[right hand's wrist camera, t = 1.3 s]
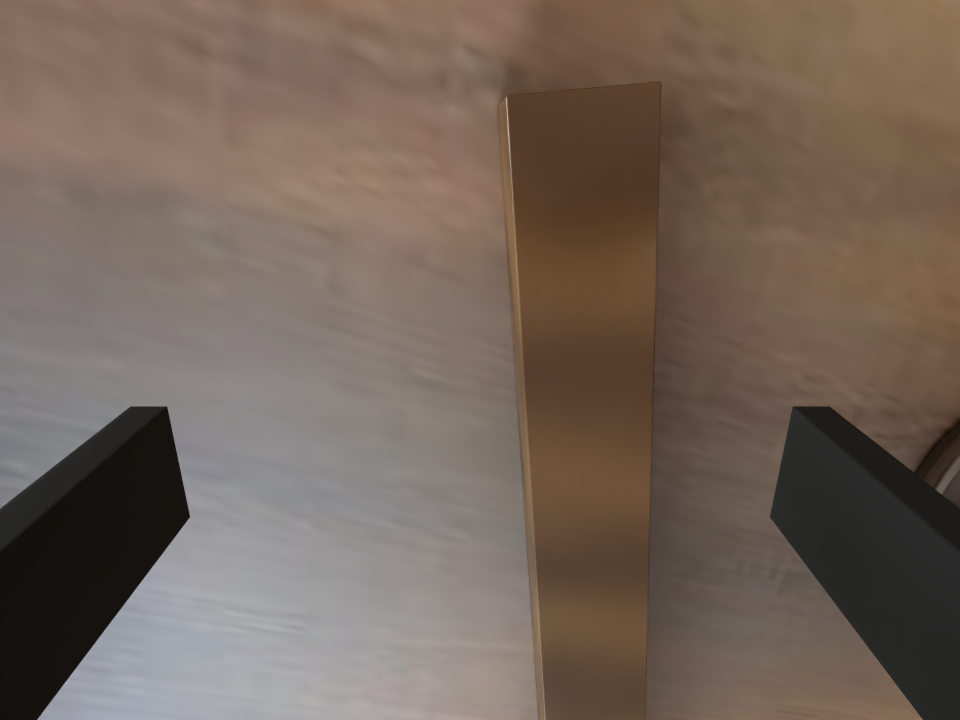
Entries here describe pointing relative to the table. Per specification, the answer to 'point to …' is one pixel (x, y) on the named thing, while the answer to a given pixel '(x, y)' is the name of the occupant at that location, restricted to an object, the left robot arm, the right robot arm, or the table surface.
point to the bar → (585, 382)
